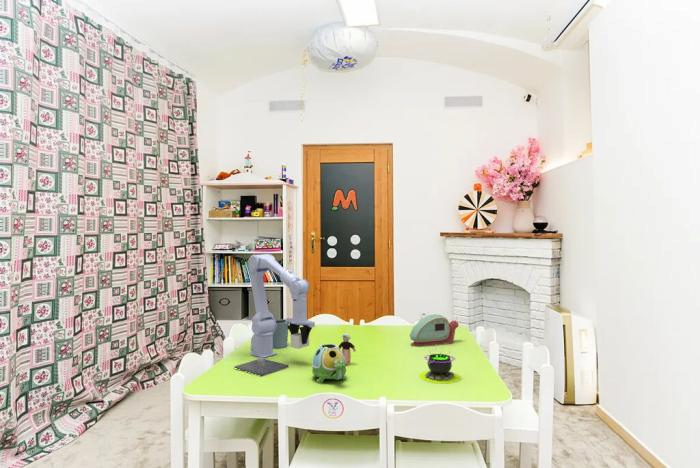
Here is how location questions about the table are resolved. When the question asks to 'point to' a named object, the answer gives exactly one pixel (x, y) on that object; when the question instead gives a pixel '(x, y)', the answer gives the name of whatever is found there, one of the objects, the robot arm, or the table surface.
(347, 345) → the grandmother figurine
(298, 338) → the duct sleeve
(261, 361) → the duct plate
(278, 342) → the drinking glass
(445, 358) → the toy cauldron
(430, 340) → the toy snail
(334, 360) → the turtle holder
